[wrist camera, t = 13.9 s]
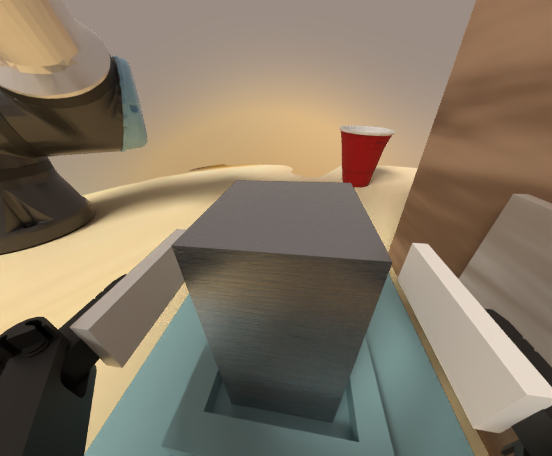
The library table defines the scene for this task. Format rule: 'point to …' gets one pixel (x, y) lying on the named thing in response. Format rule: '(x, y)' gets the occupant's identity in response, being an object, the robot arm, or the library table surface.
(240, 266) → the bar
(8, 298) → the library table surface
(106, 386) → the library table surface
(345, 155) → the plastic cup
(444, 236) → the door panel
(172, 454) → the socket
